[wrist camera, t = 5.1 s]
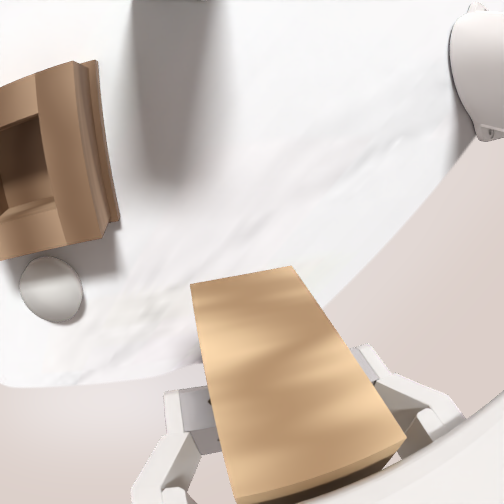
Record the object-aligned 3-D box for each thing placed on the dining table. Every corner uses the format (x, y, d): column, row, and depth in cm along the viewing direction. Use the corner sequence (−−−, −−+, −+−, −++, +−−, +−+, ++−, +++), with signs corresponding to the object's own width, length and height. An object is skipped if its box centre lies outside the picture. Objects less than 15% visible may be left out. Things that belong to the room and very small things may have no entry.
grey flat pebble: (70, 248, 22) (65, 257, 21) (92, 306, 25) (90, 317, 24) (15, 262, 21) (9, 270, 20) (40, 316, 24) (36, 325, 23)
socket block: (97, 61, 16) (80, 50, 12) (120, 216, 22) (111, 243, 18) (-32, 110, 14) (-67, 116, 10) (-2, 244, 20) (-27, 274, 15)
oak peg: (291, 265, 12) (407, 437, 5) (289, 337, 14) (365, 487, 7) (189, 284, 11) (234, 498, 5) (205, 355, 13) (247, 525, 7)
